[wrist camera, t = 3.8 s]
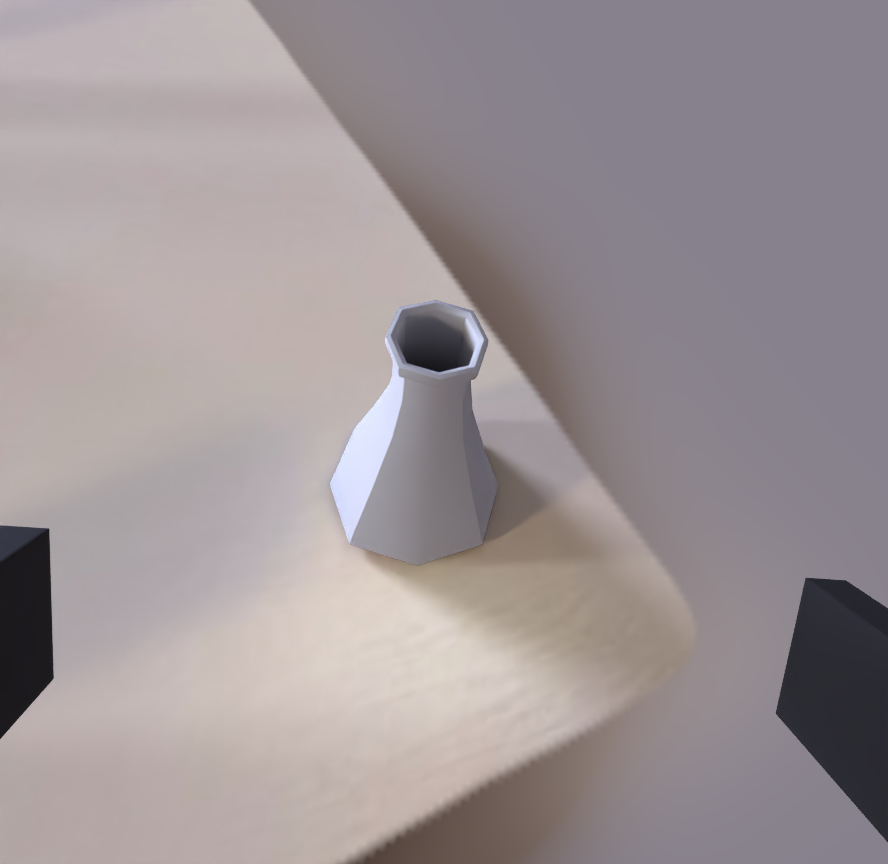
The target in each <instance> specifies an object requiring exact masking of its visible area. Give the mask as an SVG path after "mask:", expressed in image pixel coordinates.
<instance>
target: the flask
mask: <svg viewBox="0 0 888 864" xmlns="http://www.w3.org/2000/svg"><path fill="white" fill-rule="evenodd" d="M385 342H386V346H387V348H388V351H389V353H390V356H391V358H392V360H393V369H392V378H391V380H390V383H389V385H388V387H387V388H386V390H385V391H384V392H383V394H382V395H381V397H380V398H379V399H378V401H377V402H376V404H375V405H374V406H373V407H372V409H371V410H370V411H369V412H368V413H367V414H366V416H365V417H364V418H363V419H362V420H361V421H360V423H359V424H358V425H357V427H356V428H355V429H354V431H353V433H352V435H351V437H350V440H349V442H348V444H347V446H346V449H345V451H344V453H343V456H342V458H341V460H340V462H339V465H338V467H337V469H336V471H335V474H334V476H333V478H332V481H331V483H330V486H331V489H332V492H333V496H334V499H335V502H336V505H337V508H338V511H339V514H340V517H341V520H342V523H343V527H344V530H345V533H346V536H347V539H348V542H349V544H350V545H353V546H356V547H360V548H363V549H366V550H369V551H372V552H375V553H379V554H382V555H385V556H388V557H391V558H394V559H398V560H401V561H404V562H407V563H410V564H413V565H420V564H423V563H427V562H430V561H433V560H436V559H439V558H442V557H445V556H449V555H452V554H455V553H458V552H461V551H464V550H467V549H471V548H474V547H477V546H480V545H482V543H483V540H484V536H485V533H486V529H487V525H488V522H489V518H490V515H491V511H492V507H493V504H494V500H495V497H496V493H497V489H498V484H497V481H496V478H495V475H494V472H493V470H492V467H491V465H490V462H489V459H488V457H487V454H486V452H485V449H484V446H483V443H482V440H481V436H480V433H479V430H478V427H477V424H476V420H475V417H474V414H473V411H472V396H471V380H473V379H475V378H476V377H477V375H478V372H479V369H480V366H481V363H482V360H483V357H484V354H485V351H486V348H487V345H488V339H487V337H486V335H485V333H484V331H483V329H482V327H481V325H480V323H479V321H478V319H477V317H476V315H475V313H474V311H471V310H468V309H465V308H461V307H458V306H454V305H451V304H447V303H444V302H440V301H437V300H434V301H429V302H424V303H419V304H414V305H410V306H405V307H400V308H398V310H397V312H396V315H395V317H394V319H393V321H392V323H391V326H390V328H389V330H388V332H387V335H386V338H385Z"/></svg>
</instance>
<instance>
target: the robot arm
mask: <svg viewBox="0 0 888 864" xmlns="http://www.w3.org/2000/svg"><path fill="white" fill-rule="evenodd" d="M53 679H54V676H53V643H52V609H51V575H50V541H49V529H46V528H31V527H16V526H0V739H1V738H2V736H3V735H4V734H5V733H6V732H7V731H8V730H9V729H10V727H11V726H12V725H13V724H14V723H15V722H16V721H17V719H18V718H19V717H20V716H21V715H22V714H23V713H24V712H25V710H26V709H27V708H28V707H29V706H30V705H31V704H32V702H33V701H34V700H35V699H36V698H37V697H38V696H39V695H40V693H41V692H42V691H43V690H44V689H45V688H46V687H47V685H48V684H49V683H50V682H51V681H52V680H53ZM776 714H777V715H778V717H779V718H780V719H781V720H782V721H783V722H784V723H785V725H786V726H787V727H788V728H789V729H790V730H791V732H792V733H793V734H794V735H795V736H796V737H797V738H798V740H799V741H800V742H801V743H802V744H803V745H804V746H805V748H806V749H807V750H808V751H809V752H810V753H811V755H813V757H814V758H815V759H816V760H817V761H818V763H819V764H820V765H821V766H822V767H823V768H824V769H825V771H826V772H827V773H828V774H829V775H830V776H831V778H832V779H833V780H834V781H835V782H836V783H837V784H838V786H839V787H840V788H841V789H842V790H843V791H844V792H845V794H846V795H847V796H848V797H849V798H850V799H851V801H852V802H854V804H855V805H856V806H857V807H858V809H860V811H861V812H862V813H863V814H864V815H865V817H866V818H867V819H868V820H869V821H870V822H871V824H872V825H873V826H874V827H875V828H876V829H877V830H878V832H879V833H880V834H881V835H882V836H883V837H884V838H885V840H886V841H887V842H888V608H886V607H885V606H883V605H882V604H880V603H879V602H877V601H876V600H874V599H872V598H871V597H870V596H868V595H867V594H865V593H864V592H862V591H861V590H859V589H858V588H856V587H855V586H853V585H852V584H850V583H849V582H847V581H845V580H829V579H814V578H806V579H805V584H804V588H803V593H802V597H801V602H800V606H799V611H798V615H797V620H796V624H795V629H794V633H793V638H792V642H791V647H790V652H789V656H788V660H787V665H786V669H785V674H784V679H783V683H782V687H781V692H780V697H779V701H778V706H777V710H776Z"/></svg>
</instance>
